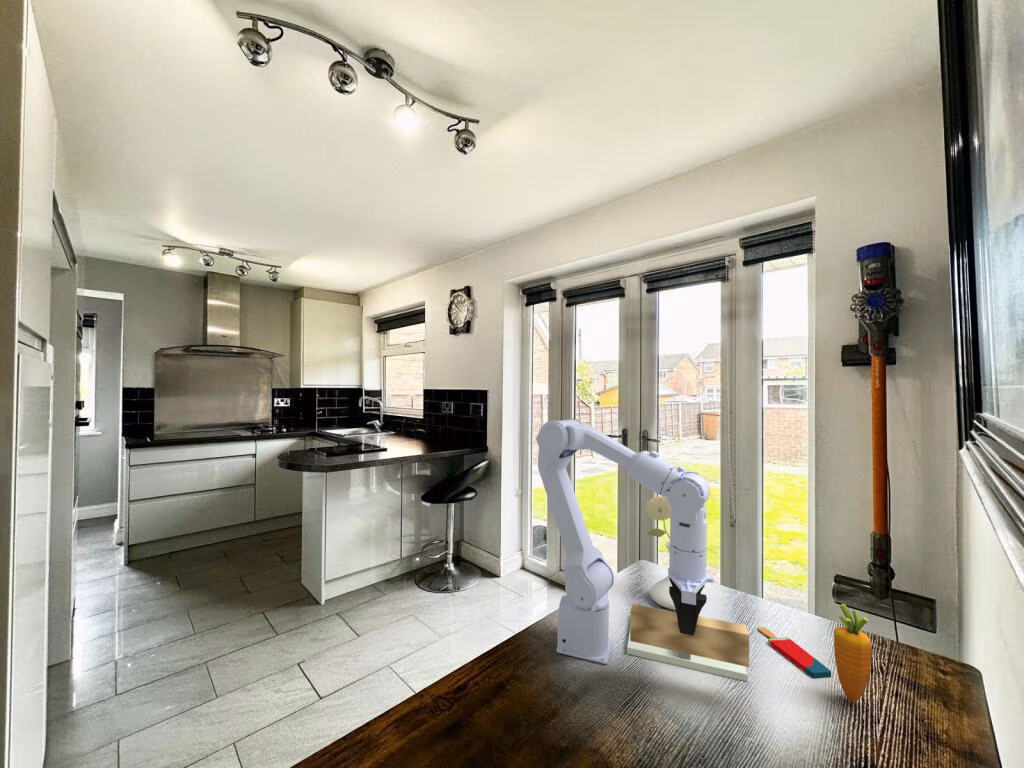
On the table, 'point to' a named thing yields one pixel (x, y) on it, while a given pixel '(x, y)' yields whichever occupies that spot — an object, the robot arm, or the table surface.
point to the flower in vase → (661, 511)
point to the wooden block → (706, 642)
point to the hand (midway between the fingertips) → (686, 627)
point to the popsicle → (796, 655)
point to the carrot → (852, 654)
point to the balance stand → (687, 660)
